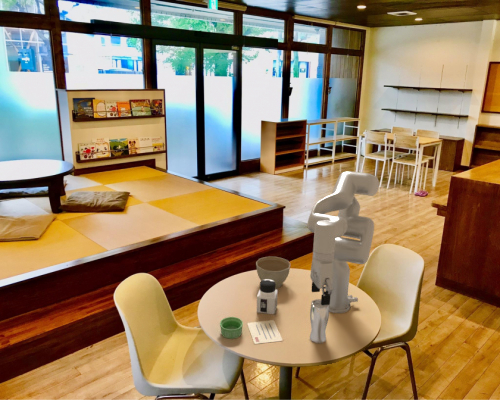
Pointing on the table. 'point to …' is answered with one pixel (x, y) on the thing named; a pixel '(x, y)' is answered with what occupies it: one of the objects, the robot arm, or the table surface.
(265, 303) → the container
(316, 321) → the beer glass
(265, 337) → the letter
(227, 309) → the table surface
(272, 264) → the planter bowl
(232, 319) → the ramekin
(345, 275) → the robot arm
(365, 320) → the table surface
